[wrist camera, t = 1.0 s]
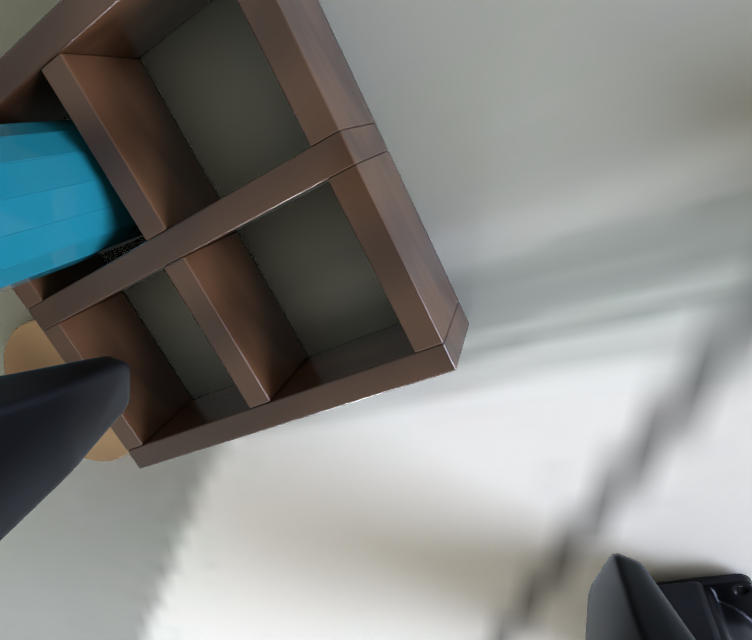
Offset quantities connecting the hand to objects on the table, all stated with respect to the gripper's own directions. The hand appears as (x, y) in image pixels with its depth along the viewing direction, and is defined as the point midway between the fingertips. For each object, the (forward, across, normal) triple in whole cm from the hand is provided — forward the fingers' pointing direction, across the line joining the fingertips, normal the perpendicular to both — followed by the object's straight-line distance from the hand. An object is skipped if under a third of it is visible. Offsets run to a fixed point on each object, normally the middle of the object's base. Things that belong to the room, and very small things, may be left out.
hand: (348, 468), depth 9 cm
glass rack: (+13, +10, +2) cm, 16 cm away
